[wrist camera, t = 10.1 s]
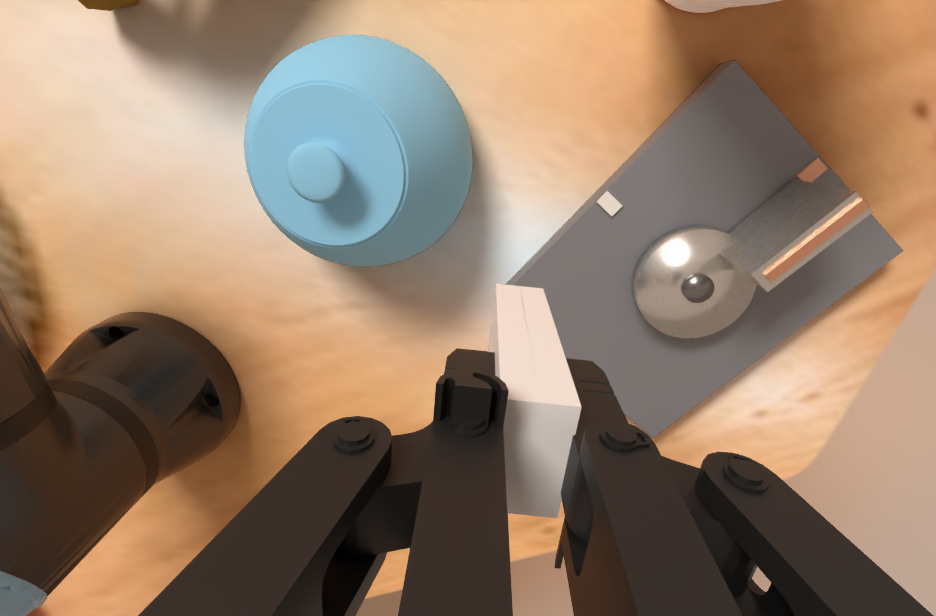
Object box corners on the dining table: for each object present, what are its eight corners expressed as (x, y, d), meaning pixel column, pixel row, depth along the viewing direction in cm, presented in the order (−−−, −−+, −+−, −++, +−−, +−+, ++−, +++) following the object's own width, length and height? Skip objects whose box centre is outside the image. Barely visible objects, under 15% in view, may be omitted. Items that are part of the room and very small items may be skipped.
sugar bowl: (311, 267, 38) (235, 325, 28) (245, 68, 33) (120, 44, 22) (490, 237, 36) (483, 287, 26) (451, 17, 31) (421, -35, 20)
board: (646, 423, 41) (653, 439, 39) (495, 294, 38) (494, 304, 36) (881, 243, 34) (906, 251, 32) (721, 63, 30) (736, 59, 28)
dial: (678, 349, 36) (710, 393, 30) (608, 281, 34) (628, 313, 29) (835, 228, 32) (907, 252, 26) (763, 143, 30) (823, 149, 24)
